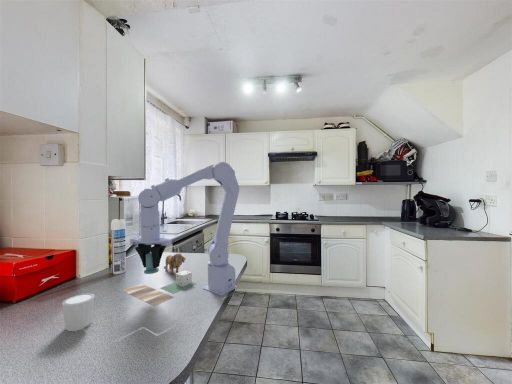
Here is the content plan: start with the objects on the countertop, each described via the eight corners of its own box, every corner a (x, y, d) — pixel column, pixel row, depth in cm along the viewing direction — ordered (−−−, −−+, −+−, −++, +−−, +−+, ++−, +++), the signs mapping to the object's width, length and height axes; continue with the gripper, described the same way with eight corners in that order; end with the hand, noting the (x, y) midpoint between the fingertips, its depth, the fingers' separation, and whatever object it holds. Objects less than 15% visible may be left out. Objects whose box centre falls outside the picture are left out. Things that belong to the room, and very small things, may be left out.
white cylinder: (90, 315, 67) (89, 290, 67) (99, 323, 63) (98, 297, 63) (59, 326, 62) (58, 299, 62) (66, 336, 58) (65, 307, 57)
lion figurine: (187, 274, 98) (187, 252, 98) (175, 278, 94) (175, 255, 94) (169, 267, 108) (168, 247, 108) (157, 270, 104) (157, 250, 104)
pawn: (161, 270, 79) (161, 252, 79) (150, 274, 75) (150, 255, 75) (152, 268, 81) (151, 251, 81) (141, 272, 77) (140, 254, 77)
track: (174, 298, 77) (174, 297, 77) (154, 306, 71) (154, 305, 71) (141, 284, 89) (141, 283, 89) (121, 291, 83) (121, 290, 83)
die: (192, 283, 88) (191, 272, 88) (182, 286, 85) (182, 275, 85) (185, 280, 91) (184, 270, 91) (175, 284, 88) (175, 273, 87)
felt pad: (197, 284, 88) (197, 283, 88) (173, 294, 80) (173, 293, 80) (183, 279, 93) (183, 279, 93) (159, 288, 84) (159, 288, 84)
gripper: (176, 224, 80) (177, 264, 80) (140, 223, 84) (141, 261, 84) (163, 227, 73) (164, 271, 74) (124, 226, 77) (125, 268, 77)
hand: (151, 266), depth 78 cm, fingers closed on pawn, 3 cm apart
